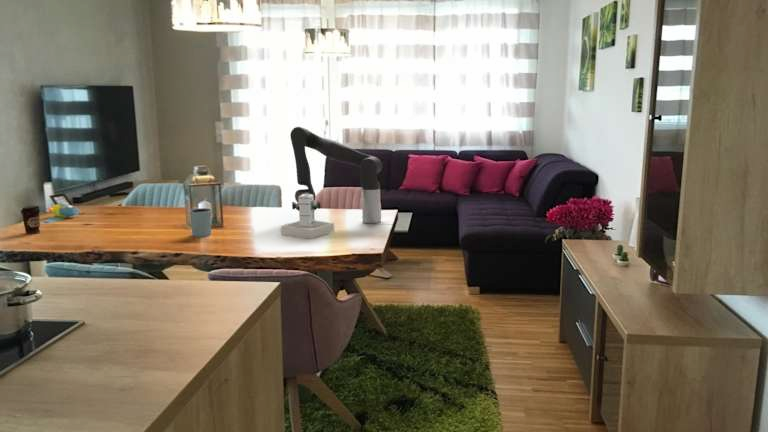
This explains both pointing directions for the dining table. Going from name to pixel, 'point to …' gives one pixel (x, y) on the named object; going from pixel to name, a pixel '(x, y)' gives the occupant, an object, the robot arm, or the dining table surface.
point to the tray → (307, 229)
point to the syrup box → (306, 210)
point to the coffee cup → (31, 219)
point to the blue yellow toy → (61, 212)
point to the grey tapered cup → (200, 222)
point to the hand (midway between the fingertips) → (306, 208)
